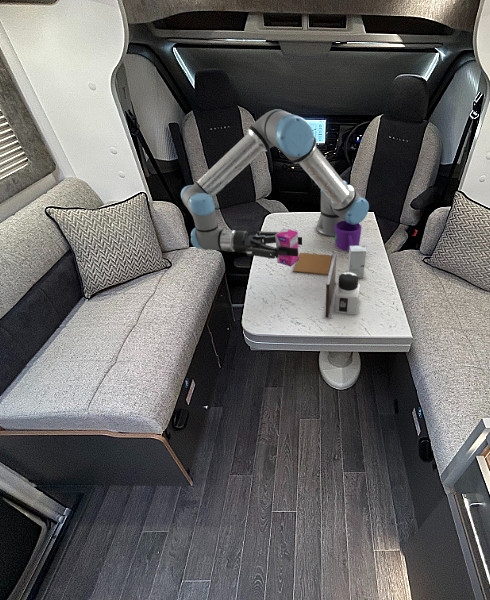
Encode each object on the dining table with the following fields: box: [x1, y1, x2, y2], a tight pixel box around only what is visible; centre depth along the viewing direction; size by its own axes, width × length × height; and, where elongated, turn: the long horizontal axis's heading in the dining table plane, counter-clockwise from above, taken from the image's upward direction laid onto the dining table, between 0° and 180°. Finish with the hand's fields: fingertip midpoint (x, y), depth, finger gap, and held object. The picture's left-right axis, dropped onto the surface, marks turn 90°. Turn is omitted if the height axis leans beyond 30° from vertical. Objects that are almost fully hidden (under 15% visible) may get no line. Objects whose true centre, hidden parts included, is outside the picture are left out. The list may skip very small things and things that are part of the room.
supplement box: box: [275, 227, 300, 267], centre depth 119 cm, size 6×6×12 cm
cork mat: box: [292, 252, 333, 276], centre depth 141 cm, size 14×14×1 cm
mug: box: [334, 221, 362, 254], centre depth 147 cm, size 17×11×10 cm, turn 3°
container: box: [333, 272, 361, 315], centre depth 116 cm, size 8×8×13 cm
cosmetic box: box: [347, 245, 367, 279], centre depth 132 cm, size 6×4×12 cm
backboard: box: [324, 251, 338, 319], centre depth 119 cm, size 20×1×14 cm, turn 171°
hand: (299, 246), depth 118 cm, fingers closed on supplement box, 7 cm apart
